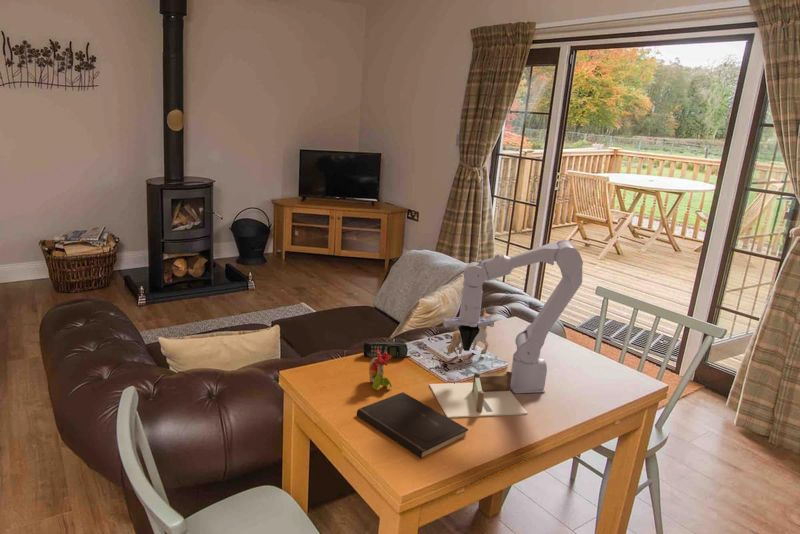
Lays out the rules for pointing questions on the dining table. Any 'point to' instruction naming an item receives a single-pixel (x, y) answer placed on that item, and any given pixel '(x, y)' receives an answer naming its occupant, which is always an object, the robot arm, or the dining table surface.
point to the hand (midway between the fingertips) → (466, 349)
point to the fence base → (494, 381)
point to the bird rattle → (379, 370)
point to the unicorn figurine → (480, 337)
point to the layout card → (462, 401)
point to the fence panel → (478, 395)
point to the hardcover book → (411, 424)
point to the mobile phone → (385, 349)
